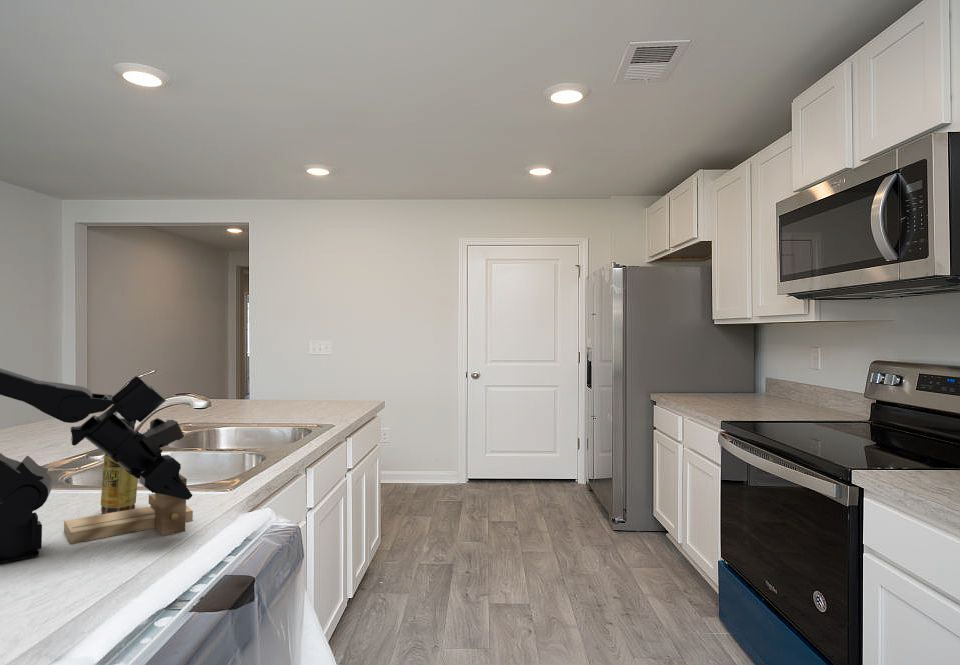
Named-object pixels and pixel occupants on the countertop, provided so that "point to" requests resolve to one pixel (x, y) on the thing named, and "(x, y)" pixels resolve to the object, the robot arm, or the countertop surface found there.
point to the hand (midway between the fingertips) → (182, 492)
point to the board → (112, 524)
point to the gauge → (169, 512)
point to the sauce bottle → (117, 484)
